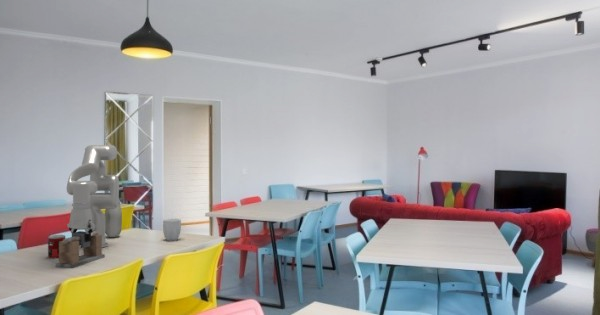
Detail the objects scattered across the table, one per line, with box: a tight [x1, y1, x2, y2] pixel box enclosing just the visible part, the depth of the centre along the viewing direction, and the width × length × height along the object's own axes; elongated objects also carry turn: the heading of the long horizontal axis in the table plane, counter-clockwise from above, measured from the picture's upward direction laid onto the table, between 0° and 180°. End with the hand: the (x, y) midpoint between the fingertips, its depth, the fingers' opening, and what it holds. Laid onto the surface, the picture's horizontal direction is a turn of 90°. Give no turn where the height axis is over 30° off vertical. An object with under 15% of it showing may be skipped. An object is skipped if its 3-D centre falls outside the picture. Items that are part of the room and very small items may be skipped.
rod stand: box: [55, 231, 106, 269], centre depth 214 cm, size 10×22×14 cm, turn 166°
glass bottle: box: [104, 199, 123, 238], centre depth 275 cm, size 10×10×28 cm
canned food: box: [47, 234, 66, 259], centre depth 223 cm, size 8×8×11 cm
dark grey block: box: [71, 230, 90, 249], centre depth 214 cm, size 6×5×7 cm
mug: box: [162, 217, 182, 242], centre depth 270 cm, size 15×11×13 cm
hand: (81, 240), depth 214 cm, fingers open, 7 cm apart
